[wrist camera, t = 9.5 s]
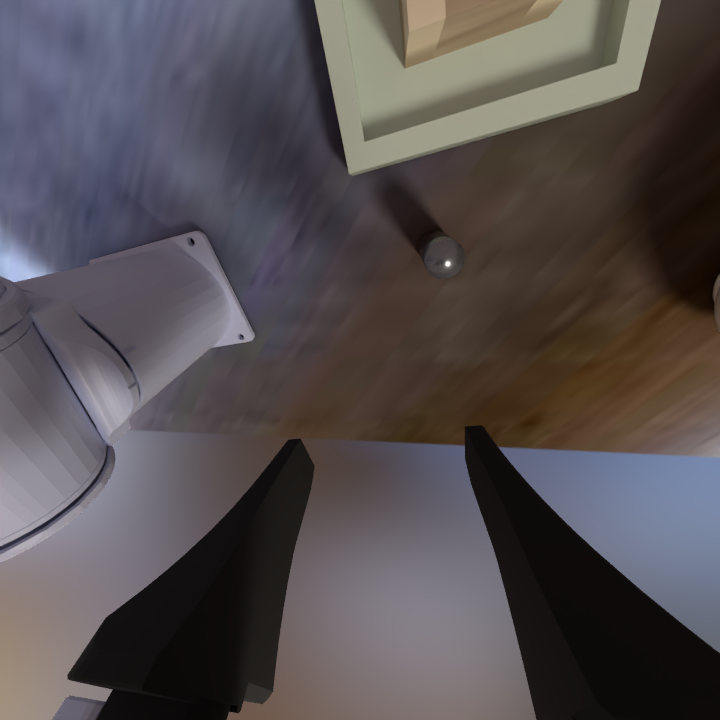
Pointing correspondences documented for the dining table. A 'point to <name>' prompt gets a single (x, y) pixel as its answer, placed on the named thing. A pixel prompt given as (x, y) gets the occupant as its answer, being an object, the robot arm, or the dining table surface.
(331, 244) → the dining table surface
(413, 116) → the sage tray
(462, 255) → the post
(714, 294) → the lidded jar
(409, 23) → the wooden frame with tab
